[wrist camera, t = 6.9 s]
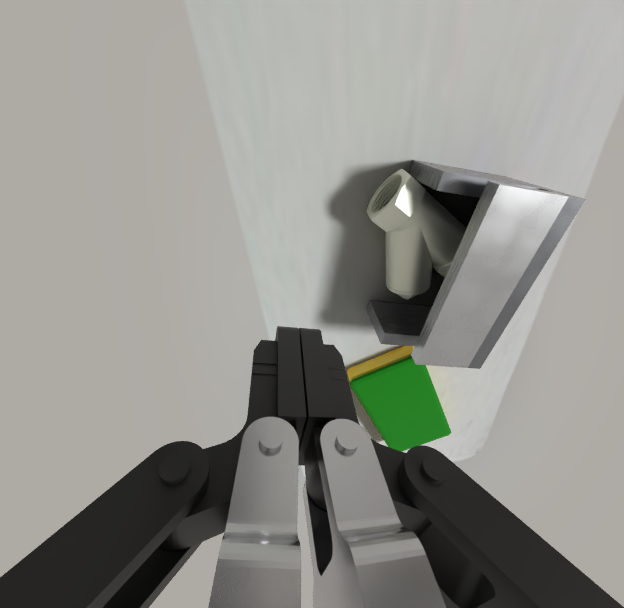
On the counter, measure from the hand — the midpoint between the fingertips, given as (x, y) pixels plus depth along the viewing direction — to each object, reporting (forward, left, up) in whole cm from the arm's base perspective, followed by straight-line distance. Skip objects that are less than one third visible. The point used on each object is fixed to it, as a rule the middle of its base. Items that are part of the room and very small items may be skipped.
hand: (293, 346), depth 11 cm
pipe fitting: (0, +9, -13) cm, 16 cm away
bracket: (0, +11, -13) cm, 17 cm away
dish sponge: (+17, +14, -14) cm, 26 cm away
